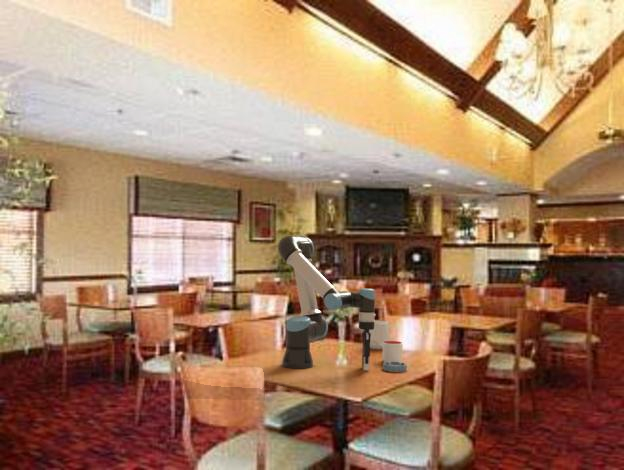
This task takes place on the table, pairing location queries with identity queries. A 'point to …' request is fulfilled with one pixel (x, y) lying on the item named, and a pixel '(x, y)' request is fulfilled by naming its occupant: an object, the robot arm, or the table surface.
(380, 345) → the vase
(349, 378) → the table surface
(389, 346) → the cup
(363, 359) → the wooden rectangular block
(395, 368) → the blue bowl
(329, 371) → the table surface
